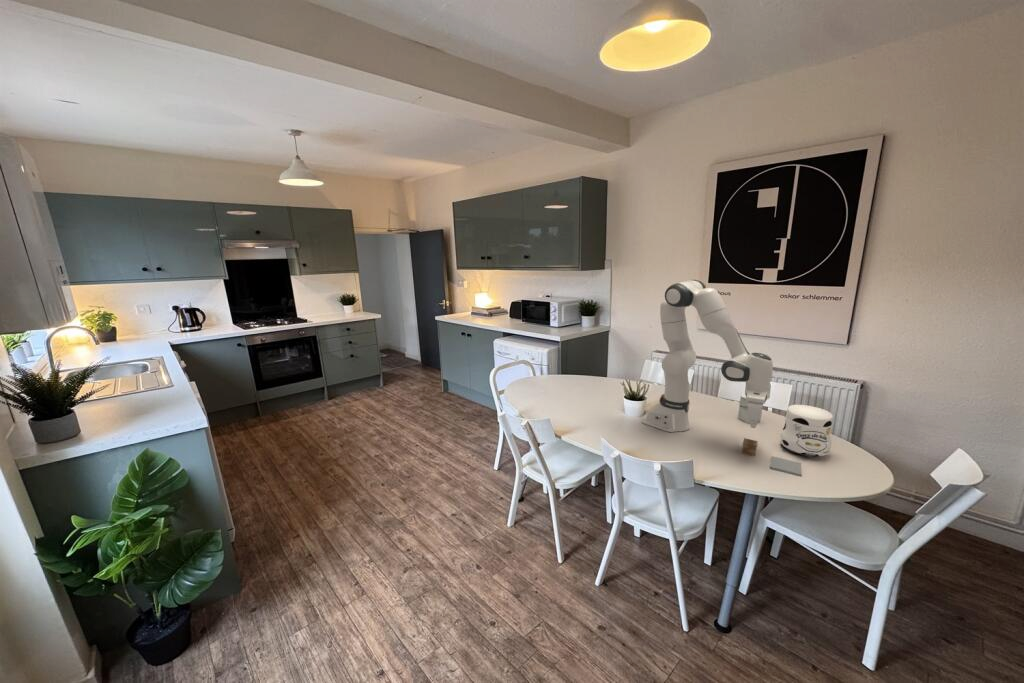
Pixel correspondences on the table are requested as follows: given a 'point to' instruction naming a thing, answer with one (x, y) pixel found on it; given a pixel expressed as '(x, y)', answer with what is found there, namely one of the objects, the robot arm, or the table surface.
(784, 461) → the coaster
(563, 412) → the table surface
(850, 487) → the table surface
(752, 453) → the walnut cube
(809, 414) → the milk container
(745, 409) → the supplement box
